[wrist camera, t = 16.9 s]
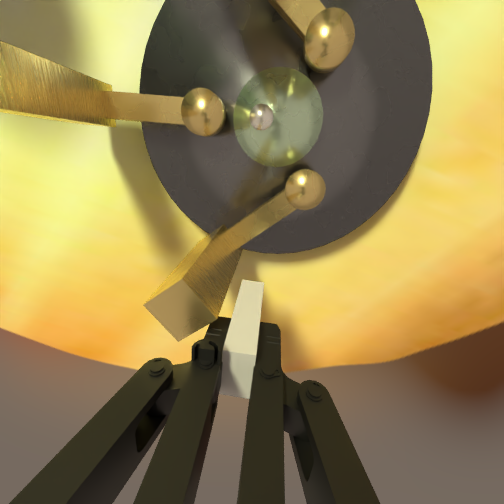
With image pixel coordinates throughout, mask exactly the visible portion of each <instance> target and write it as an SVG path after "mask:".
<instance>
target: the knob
mask: <svg viewBox="0 0 504 504" xmlns="http://www.w3.org/2000/svg"><path fill="white" fill-rule="evenodd" d="M0 112H3V113H10V114H16V115H23V116H30V117H37V118H44V119H50V120H57V121H64V122H71V123H78V124H86V125H97V126H108V127H116V121H115V120H126V121H137V122H149V123H160V124H172V125H183V126H186V127H187V128H188V129H189V130H190V131H191V132H192V133H194V134H196V135H200V136H204V137H211V136H214V135H216V134H218V133H219V132H220V131H221V130H222V128H223V127H224V124H225V121H226V110H225V107H224V104H223V102H222V101H221V100H220V98H219V97H218V96H217V95H216V94H214V93H213V92H212V91H211V90H209V89H206V88H195V89H193V90H191V91H189V92H188V93H187V94H186V96H185V97H174V96H162V95H149V94H137V93H124V92H112V86H111V85H109V84H106V83H104V82H101V81H99V80H96V79H94V78H91V77H89V76H86V75H84V74H82V73H79V72H77V71H74V70H72V69H69V68H67V67H64V66H62V65H59V64H57V63H54V62H52V61H49V60H47V59H45V58H42V57H40V56H37V55H35V54H32V53H30V52H27V51H25V50H22V49H20V48H17V47H15V46H12V45H10V44H8V43H5V42H3V41H0Z"/></svg>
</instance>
